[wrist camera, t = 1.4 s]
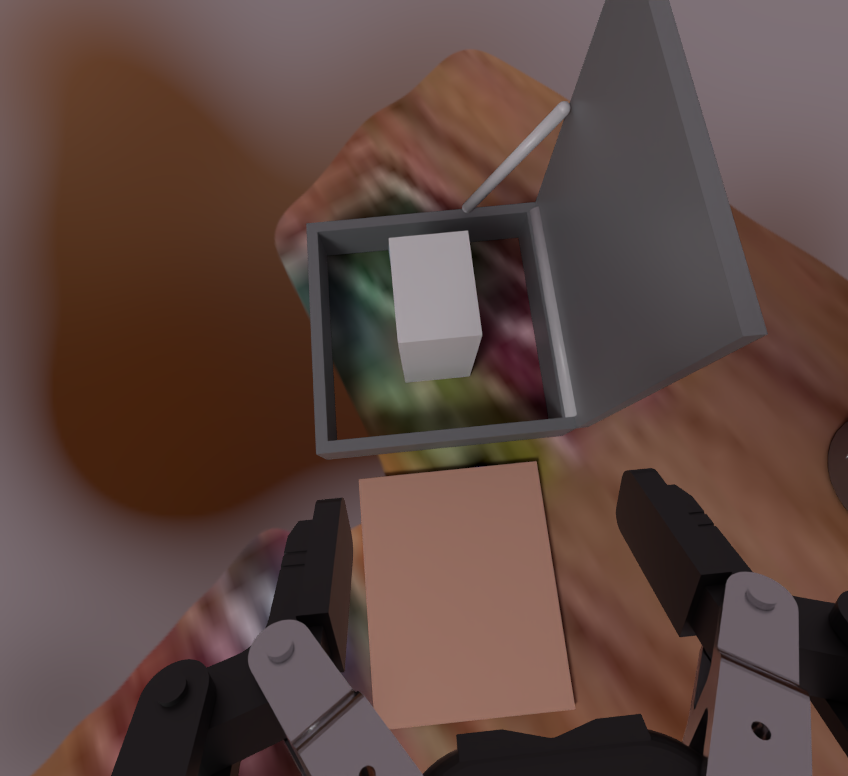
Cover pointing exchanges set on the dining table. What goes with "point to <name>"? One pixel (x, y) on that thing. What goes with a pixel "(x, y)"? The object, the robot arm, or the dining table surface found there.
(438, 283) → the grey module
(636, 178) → the equipment case
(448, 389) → the dining table surface
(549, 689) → the terracotta mat
